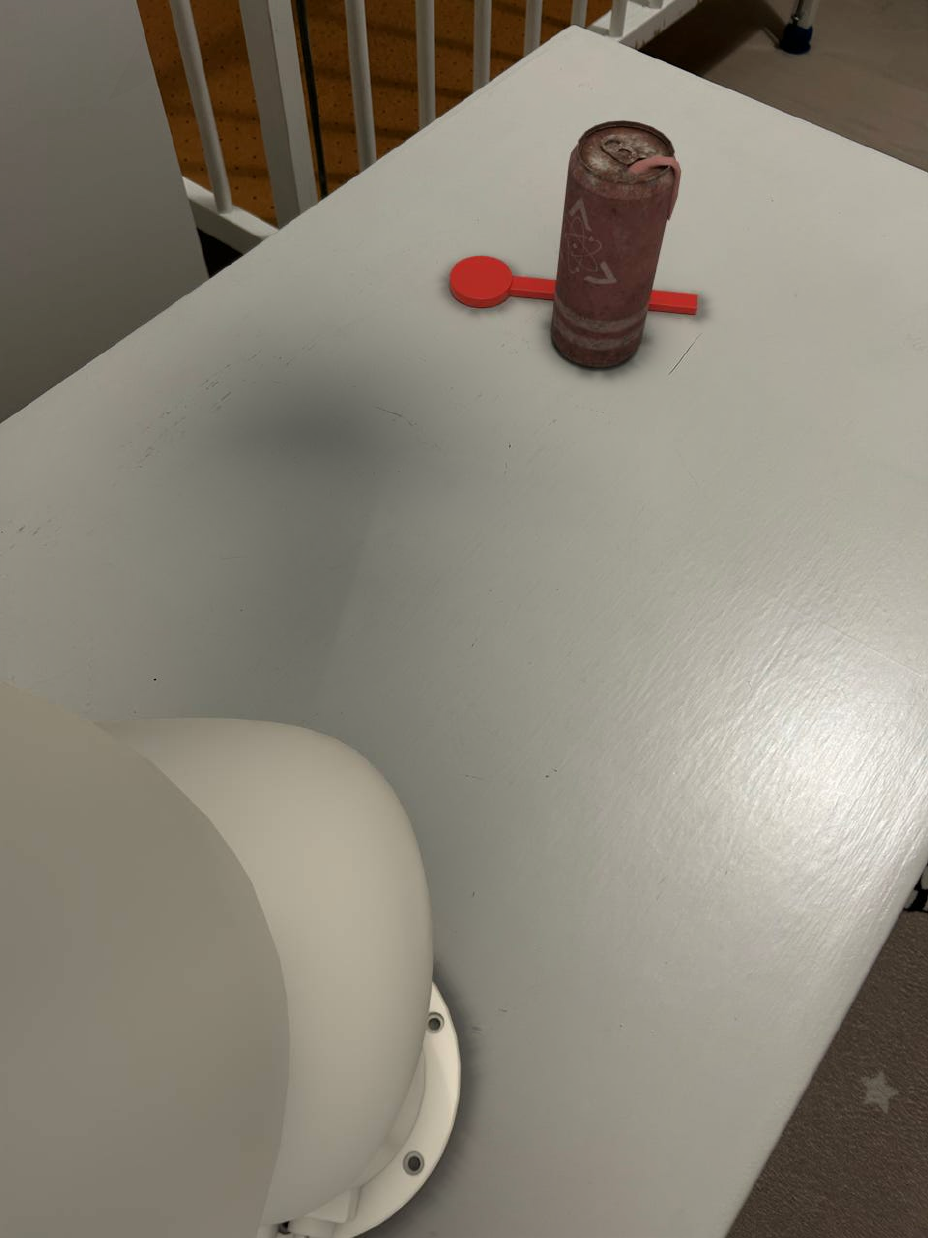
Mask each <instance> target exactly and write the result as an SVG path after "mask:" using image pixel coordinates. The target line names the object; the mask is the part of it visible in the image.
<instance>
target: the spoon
mask: <svg viewBox="0 0 928 1238" xmlns="http://www.w3.org/2000/svg"><path fill="white" fill-rule="evenodd" d="M555 285H556V279H549V278H540V277H539V278H538V277H529V276H520V275H513V273H512V270H511V268H510V267H509V266H508V265H507V263H505V262H504V261H502V260H501V259H498V258H496V257H494V256H489V255H474V256H468V257H466V258H464V259H461V260H460V261H458V262H457V263H456V264H455V265H453V267H452V269H451V271H450V273H449V290H450V292H451V294H452V296H453V297H454V298H455V299H456V300H458V301H459V302H460V303H462V304H464V305H466V306H468V307H469V306H470V307H474V308H490V307H494V306H497V305H499V304H501V303H503V302H504V301H506V300H507V299H508V298H509V296H512V297H521V298H522V297H523V298H532V299H540V300H541V299H543V300H550V301H551V300H552V301H554V294H555ZM697 310H698V294H696V293H687V292H676V291H667V290H657V289H652V293H651V297H650V302H649V306H648V311H657V312H669V313H676V314H684V315H685V314H687V315H696V313H697Z"/></svg>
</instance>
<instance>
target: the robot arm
mask: <svg viewBox="0 0 928 1238" xmlns="http://www.w3.org/2000/svg"><path fill="white" fill-rule="evenodd" d="M431 905H432V904H431V899H430V894H429V889H428V882H427V877H426V872H425V868H424V862H423V859H422V855H421V851H420V847H419V842H418V839H417V837H416V834H415V831H414V828H413V826H412V824H411V820H410V818H409V816H408V815H407V812H406V811H405V809H404V807H403V804H402V803H401V801H400V799H399V797H398V795H397V794H396V792H395V790H394V788H393V787H392V786H391V785H390V783H389V782H388V781H387V779H386V778H385V776H384V775H383V774H382V772H381V771H380V770H379V769H378V768H377V767H376V766H374V764H373V763H371V762H370V760H369V759H367V758H366V757H365V756H364V755H363V754H361V752H359V751H357V750H356V749H354V748H352V747H350V746H349V745H348V744H346V743H344V742H343V741H341V740H339V739H337V738H335V737H333V736H331V735H327V734H325V733H322V732H320V731H319V732H318V731H315V730H313V729H310V728H306V727H303V726H298V725H293V724H289V723H282V722H276V721H275V722H274V721H267V720H266V721H265V720H255V719H240V718H231V717H171V718H169V717H167V718H135V719H133V718H132V719H119V720H118V719H117V720H107V721H90V720H89V719H87V718H86V717H85V716H83V715H81V714H80V713H79V712H77V711H74V710H72V709H70V708H68V707H65V706H63V705H60V704H58V703H56V702H53V701H52V700H48V699H46V698H44V697H41V696H40V695H37V694H34V693H32V692H31V691H27V690H25V689H22V688H20V687H18V686H15V685H13V684H11V683H8V682H6V681H4V680H2V679H0V1238H355V1237H357V1236H359V1235H362V1234H364V1233H366V1232H368V1231H370V1230H371V1229H373V1228H375V1227H378V1226H379V1225H381V1224H382V1223H383V1222H385V1221H387V1220H388V1219H390V1218H391V1217H393V1216H394V1215H395V1214H397V1212H398V1211H399V1210H401V1209H402V1208H403V1207H404V1206H406V1205H407V1203H408V1202H409V1201H411V1199H413V1197H415V1196H416V1194H417V1193H418V1192H419V1190H420V1189H421V1188H422V1187H423V1185H424V1184H425V1183H426V1182H427V1180H428V1179H429V1177H430V1176H431V1175H432V1173H433V1172H434V1171H435V1169H436V1166H437V1164H438V1163H439V1161H440V1159H441V1157H442V1155H443V1153H444V1152H445V1149H446V1147H447V1146H448V1143H449V1140H450V1137H451V1134H452V1131H453V1128H454V1125H455V1122H456V1118H457V1114H458V1110H459V1109H458V1108H459V1103H460V1097H461V1086H462V1074H461V1072H462V1071H461V1070H462V1063H461V1062H462V1061H461V1052H460V1046H459V1039H458V1035H457V1032H456V1029H455V1026H454V1022H453V1020H452V1016H451V1013H450V1010H449V1007H448V1005H447V1003H446V1002H445V1000H444V998H443V996H442V994H441V992H440V990H439V989H438V987H437V985H436V983H435V982H434V981H433V976H434V975H433V973H434V929H433V927H434V926H433V918H432V906H431ZM433 1020H437V1021H438V1022H439V1023H440V1025H439V1027H438V1029H436V1030H432V1029H431V1028H430V1027H429V1026H430V1025H429V1024H430V1022H431V1021H433ZM415 1157H416V1158H418V1159H419V1163H420V1165H419V1168H418V1169H416V1170H412V1169H411V1168H410V1166H409V1162H410V1160H411V1159H412V1158H415ZM287 1222H288V1225H287V1227H286V1225H285V1224H284V1223H287Z"/></svg>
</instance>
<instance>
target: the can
mask: <svg viewBox="0 0 928 1238" xmlns="http://www.w3.org/2000/svg"><path fill="white" fill-rule="evenodd" d="M675 153H676V150H675V147H674V145H673V143H672V141H671V140H670V139H669V137H668V136H667V135H666V134H665V133H664V132H662V131H660V130H659V129H657V128H656V127H654V126H651V125H648V124H646V123H642V122H639V121H634V120H633V121H632V120H625V119H621V120H620V119H619V120H609V121H608V120H607V121H605V122H602V123H597V124H595V125H593V126H592V127H589V128H588V129H587V130H585V131H584V132H583V133H582V135H581V136H580V137H579V138H578V140H577V144H576V146H575V147H574V148H573V149H572V151H571V152H570V154H569V155H570V156H569V160H568V165H567V174H566V175H567V176H566V184H565V193H564V204H563V211H562V221H561V232H560V240H559V249H558V260H557V268H556V276H555V280H556V285H555V294H554V300H553V305H552V314H551V321H550V323H551V324H550V334H551V338H552V342H553V343H554V344H555V346H556V347H557V349H558V350H559V351H560V354H562V356H564V357H565V358H567V359H568V360H570V362H572V363H575V364H578V365H580V366H583V367H588V368H595V369H596V368H597V369H599V368H610V367H613V366H616V365H618V364H621V363H623V362H624V361H625V360H626V359H628V358H629V357H630V356H632V355H633V354H634V353H635V352H636V351H637V350H638V348H639V347H640V345H641V343H642V339H643V334H644V329H645V326H646V325H645V324H646V320H647V316H648V315H647V314H648V311H649V310H648V306H649V302H650V297H651V293H652V290H653V288H654V284H655V279H656V274H657V270H658V269H657V268H658V265H659V260H660V256H661V252H662V247H663V241H664V237H665V234H666V233H665V232H666V227H667V223H668V222H669V221H670V220H671V218H672V214H673V212H674V209H675V207H676V202H677V201H678V197H679V191H680V183H681V176H682V169H681V165H680V163H679V161H678V160H677V159H676V156H675Z"/></svg>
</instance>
